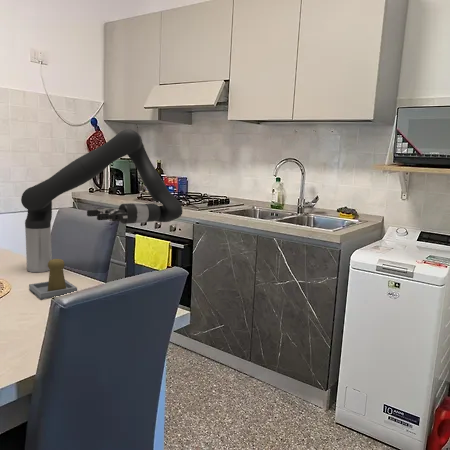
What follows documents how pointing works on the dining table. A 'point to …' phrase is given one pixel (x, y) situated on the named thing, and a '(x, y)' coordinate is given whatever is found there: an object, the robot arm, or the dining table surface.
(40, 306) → the dining table surface
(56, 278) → the cork
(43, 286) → the tray
